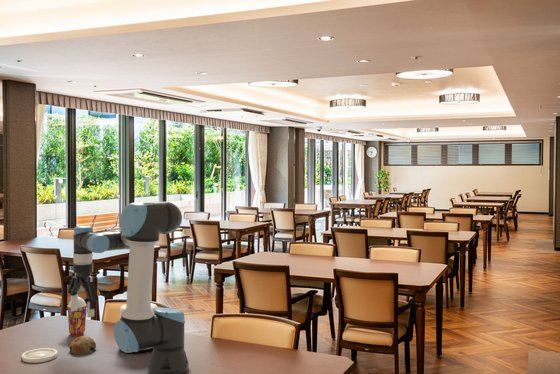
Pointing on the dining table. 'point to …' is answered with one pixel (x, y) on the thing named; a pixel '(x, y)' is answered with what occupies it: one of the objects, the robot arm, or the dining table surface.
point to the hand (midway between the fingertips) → (82, 313)
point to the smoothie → (77, 318)
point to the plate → (39, 355)
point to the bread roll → (82, 345)
